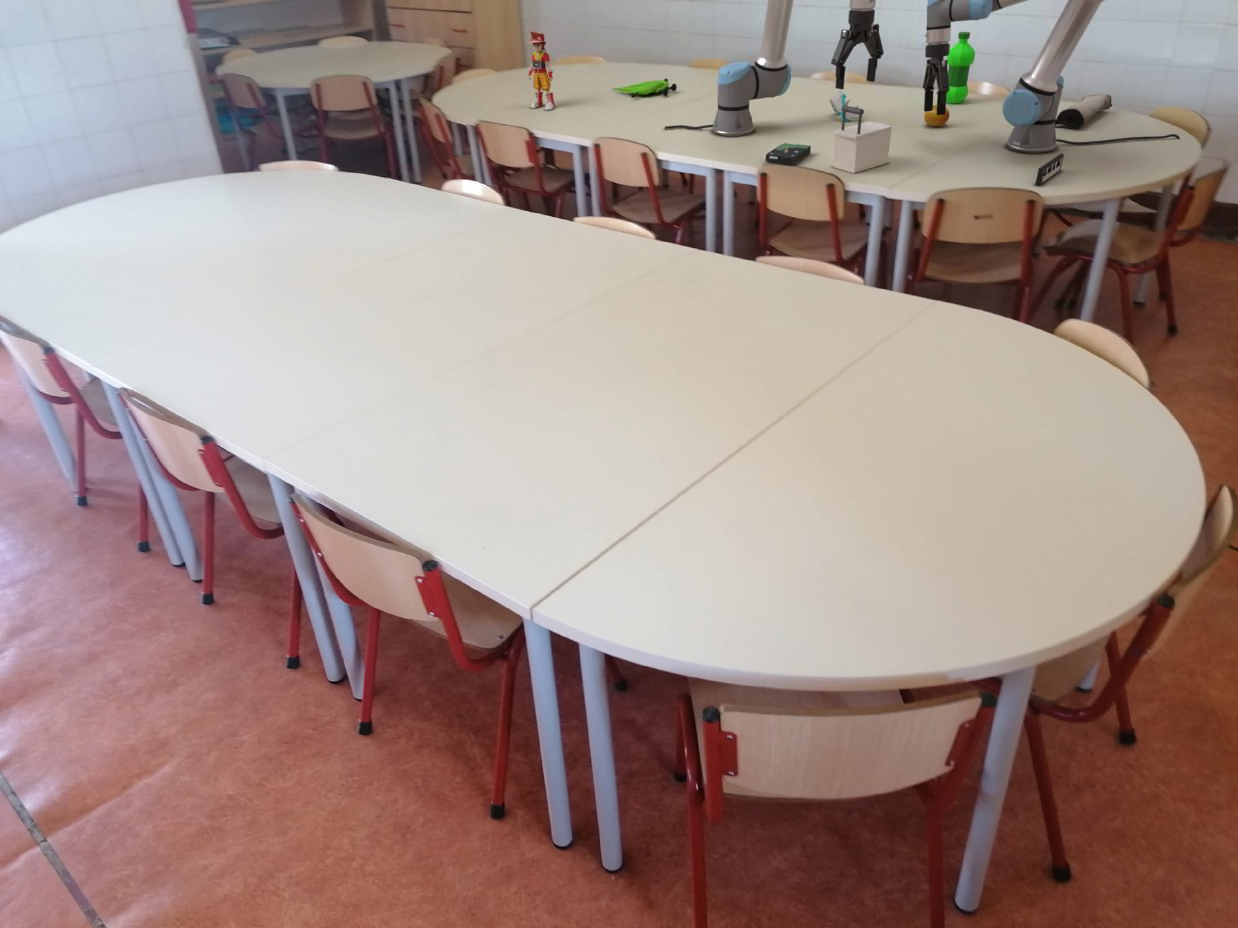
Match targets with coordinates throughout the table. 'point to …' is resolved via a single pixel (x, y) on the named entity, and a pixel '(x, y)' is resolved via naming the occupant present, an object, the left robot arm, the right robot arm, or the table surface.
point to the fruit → (936, 117)
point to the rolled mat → (1083, 110)
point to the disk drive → (788, 153)
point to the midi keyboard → (1049, 169)
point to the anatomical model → (839, 102)
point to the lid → (859, 125)
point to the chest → (861, 152)
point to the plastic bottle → (959, 68)
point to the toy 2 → (648, 88)
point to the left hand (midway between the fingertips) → (855, 85)
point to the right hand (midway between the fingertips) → (934, 113)
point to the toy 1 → (541, 71)
